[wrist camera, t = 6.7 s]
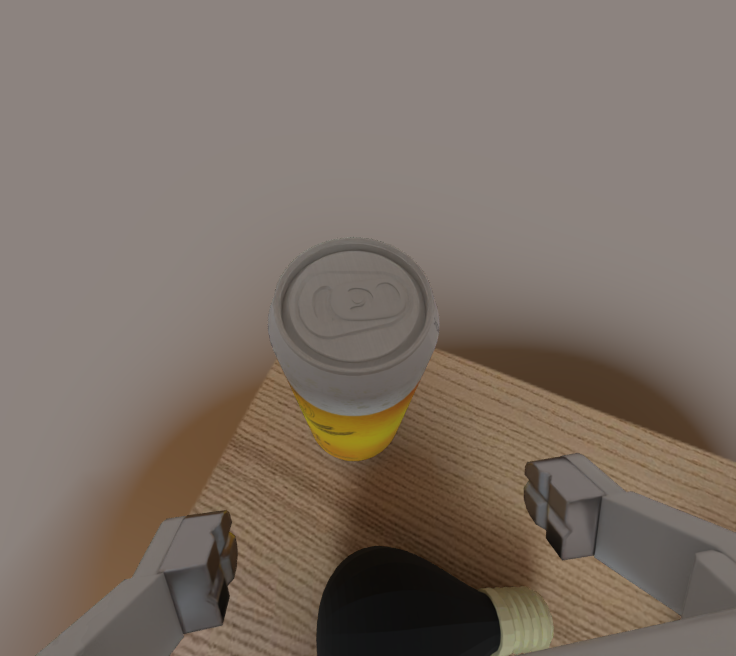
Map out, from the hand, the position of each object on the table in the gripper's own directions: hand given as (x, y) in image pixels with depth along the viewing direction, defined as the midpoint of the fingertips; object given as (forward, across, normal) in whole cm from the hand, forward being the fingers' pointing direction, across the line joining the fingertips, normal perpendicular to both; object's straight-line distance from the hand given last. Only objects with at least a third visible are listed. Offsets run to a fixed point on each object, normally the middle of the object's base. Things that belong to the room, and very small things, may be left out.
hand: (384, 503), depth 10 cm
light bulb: (+6, -2, +14) cm, 16 cm away
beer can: (+14, 0, +6) cm, 15 cm away
